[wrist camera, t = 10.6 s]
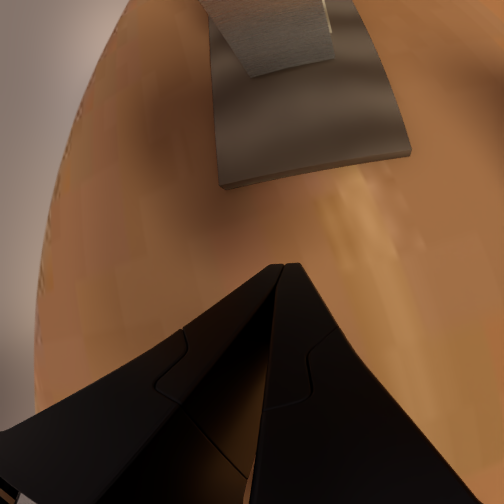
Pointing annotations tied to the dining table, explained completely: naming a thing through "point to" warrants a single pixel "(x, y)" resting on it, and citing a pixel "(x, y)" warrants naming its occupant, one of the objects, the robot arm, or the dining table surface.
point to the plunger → (273, 32)
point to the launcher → (305, 109)
